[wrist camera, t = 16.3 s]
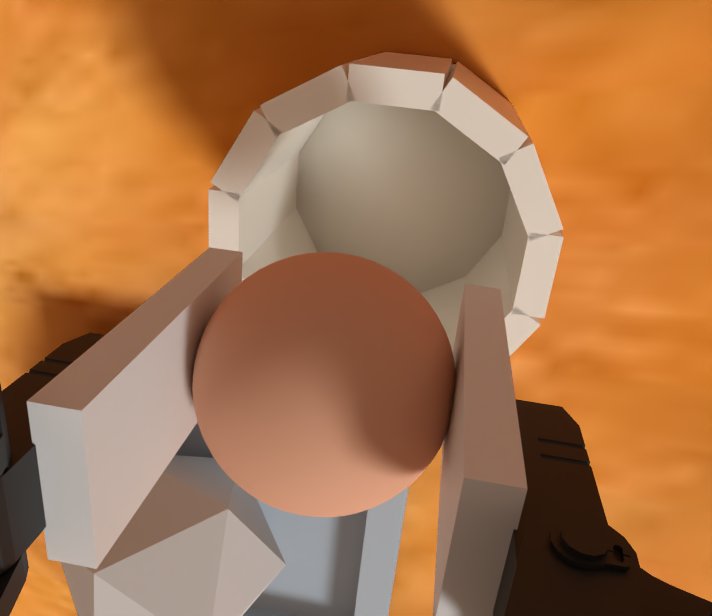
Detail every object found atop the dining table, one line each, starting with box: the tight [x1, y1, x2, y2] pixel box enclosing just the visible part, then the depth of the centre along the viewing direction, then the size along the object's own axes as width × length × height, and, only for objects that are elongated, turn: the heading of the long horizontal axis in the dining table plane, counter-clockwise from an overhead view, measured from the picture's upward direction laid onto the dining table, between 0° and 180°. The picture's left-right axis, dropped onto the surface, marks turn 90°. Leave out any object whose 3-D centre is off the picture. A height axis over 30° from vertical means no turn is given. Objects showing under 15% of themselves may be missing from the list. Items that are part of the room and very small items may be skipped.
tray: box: [175, 422, 409, 616], centre depth 32 cm, size 16×16×3 cm
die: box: [61, 455, 286, 616], centre depth 28 cm, size 8×9×10 cm
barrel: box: [209, 52, 564, 356], centre depth 22 cm, size 10×10×8 cm
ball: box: [192, 252, 456, 517], centre depth 12 cm, size 5×5×5 cm
